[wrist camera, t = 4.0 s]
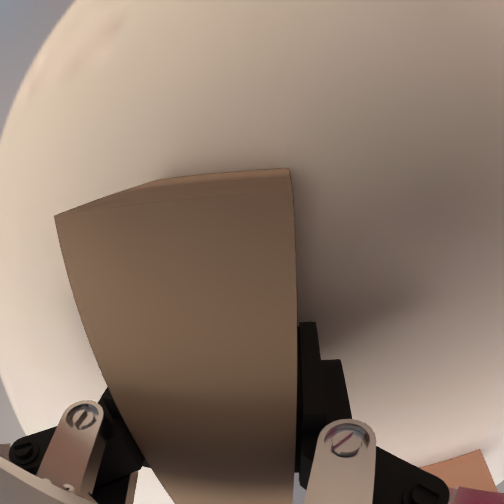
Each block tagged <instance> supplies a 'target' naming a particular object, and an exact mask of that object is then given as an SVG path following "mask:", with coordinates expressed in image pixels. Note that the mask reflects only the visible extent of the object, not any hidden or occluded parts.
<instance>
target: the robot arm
mask: <svg viewBox="0 0 504 504" xmlns="http://www.w3.org/2000/svg"><path fill="white" fill-rule="evenodd" d="M142 466H144V467H148V468H151V467H150V465H149V464H148V462H147V460H146V459H145V457H144V455H143V454H142V452H141V450H140V449H139V447H138V445H137V443H136V442H135V440H134V438H133V436H132V434H131V433H130V431H129V429H128V427H127V425H126V423H125V421H124V419H123V417H122V415H121V413H120V411H119V409H118V407H117V405H116V403H115V401H114V399H113V397H112V395H111V393H110V390H109V388H108V387H107V389H106V390H105V392H104V393H103V395H102V396H101V399H100V400H99V402H98V403H96V402H94V401H89V400H87V401H80V402H76V403H74V404H72V405H71V406H69V407H68V408H67V409H66V410H65V412H64V413H63V415H62V417H61V419H60V422H59V424H58V426H56V427H53V428H50V429H47V430H44V431H41V432H38V433H35V434H32V435H29V436H25V437H22V438H20V439H18V440H17V441H15V442H14V443H13V445H11V444H0V504H133V501H134V495H135V489H136V483H137V477H138V470H140V469H141V467H142ZM294 473H299V481H300V486H301V487H302V488H304V489H305V490H306V494H305V498H304V502H303V504H504V493H497V492H490V491H483V490H477V489H471V488H466V487H460V486H458V487H457V488H456V489H454V488H449V487H448V486H447V485H446V483H445V482H444V481H443V480H442V479H440V478H439V477H437V476H435V475H433V474H431V473H429V472H426V471H424V470H422V469H420V468H418V467H416V466H414V465H412V464H410V463H408V462H406V461H404V460H402V459H400V458H398V457H396V456H394V455H392V454H390V453H388V452H387V451H385V450H383V449H381V448H379V447H377V446H376V437H375V433H374V432H373V430H372V429H371V427H369V426H368V425H367V424H366V423H363V422H361V421H359V420H354V419H352V415H351V410H350V404H349V399H348V394H347V389H346V383H345V378H344V373H343V369H342V364H341V360H340V359H335V360H321V357H320V349H319V342H318V335H317V327H316V322H299V327H297V408H296V444H295V468H294Z"/></svg>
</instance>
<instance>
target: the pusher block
mask: <svg viewBox="0 0 504 504" xmlns="http://www.w3.org/2000/svg"><path fill="white" fill-rule="evenodd" d="M54 218H55V224H56V229H57V233H58V238H59V242H60V247H61V251H62V255H63V259H64V263H65V267H66V271H67V275H68V278H69V282H70V285H71V289H72V292H73V296H74V299H75V302H76V305H77V308H78V311H79V314H80V317H81V320H82V323H83V326H84V329H85V332H86V335H87V337H88V340H89V343H90V345H91V348H92V350H93V353H94V355H95V358H96V360H97V363H98V365H99V368H100V370H101V372H102V375H103V377H104V379H105V382H106V384H107V386H108V388H109V390H110V393H111V395H112V397H113V399H114V401H115V403H116V405H117V407H118V409H119V411H120V413H121V415H122V417H123V419H124V421H125V423H126V425H127V427H128V429H129V431H130V433H131V434H132V436H133V438H134V440H135V442H136V443H137V445H138V447H139V449H140V450H141V452H142V454H143V455H144V457H145V459H146V460H147V462H148V464H149V465H150V467H151V469H152V470H153V472H154V473H155V475H156V477H157V478H158V480H159V481H160V483H161V484H162V486H163V487H164V489H165V490H166V492H167V493H168V494H169V496H170V497H171V499H172V500H173V502H174V503H175V504H293V488H294V468H295V444H296V408H297V292H296V255H295V228H294V206H293V191H292V185H291V180H290V175H289V170H288V168H284V169H266V170H251V171H237V172H225V173H214V174H204V175H194V176H185V177H176V178H168V179H160V180H156V181H152V182H149V183H146V184H143V185H140V186H136V187H133V188H130V189H127V190H124V191H121V192H118V193H115V194H112V195H109V196H106V197H103V198H101V199H98V200H95V201H92V202H89V203H87V204H84V205H81V206H78V207H76V208H73V209H70V210H68V211H65V212H63V213H60V214H58V215H55V216H54Z"/></svg>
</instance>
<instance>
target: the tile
mask: <svg viewBox="0 0 504 504" xmlns="http://www.w3.org/2000/svg"><path fill="white" fill-rule="evenodd" d="M420 469H422V470H424V471H426V472H429V473H431V474H433V475H435V476H437V477H439V478H440V479H442V480H443V481H444V482H445V483H446V485H447V486H448V487H449V488H454V489H456V488H457V487H458V486H460V487H466V488H471V489H477V490H483V491H490V492H497V493H498V491H497V489H496V486H495V484H494V481H493V479H492V476H491V474H490V471H489V469H488V466H487V464H486V462H485V459H484V457H483V455H482V452H481V450H480V449H479V450H476V451H474V452H471V453H468V454H465V455H462V456H459V457H456V458H452V459H449V460H446V461H442V462H439V463H435V464H432V465H428V466H424V467H420Z"/></svg>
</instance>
